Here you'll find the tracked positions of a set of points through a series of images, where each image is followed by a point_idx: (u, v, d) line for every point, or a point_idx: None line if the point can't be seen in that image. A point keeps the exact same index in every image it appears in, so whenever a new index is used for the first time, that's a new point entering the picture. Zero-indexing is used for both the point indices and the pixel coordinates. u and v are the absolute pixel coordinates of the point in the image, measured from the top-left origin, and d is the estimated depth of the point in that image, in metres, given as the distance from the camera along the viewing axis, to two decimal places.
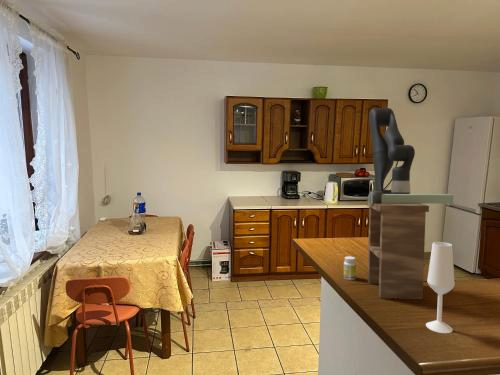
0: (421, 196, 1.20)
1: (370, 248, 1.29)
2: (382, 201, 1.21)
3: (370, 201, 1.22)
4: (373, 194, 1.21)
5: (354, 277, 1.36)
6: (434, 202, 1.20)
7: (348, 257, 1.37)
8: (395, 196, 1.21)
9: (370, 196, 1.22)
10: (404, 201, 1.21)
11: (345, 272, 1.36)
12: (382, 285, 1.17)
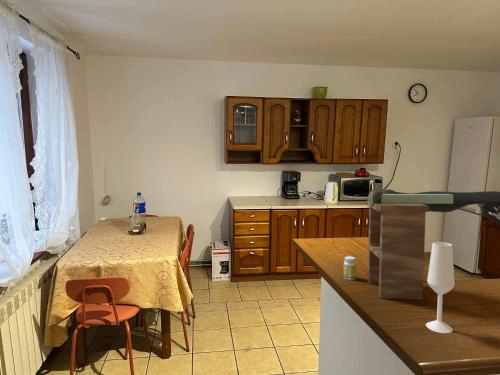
0: (421, 196, 1.20)
1: (370, 248, 1.29)
2: (382, 201, 1.21)
3: (370, 201, 1.22)
4: (373, 194, 1.21)
5: (354, 277, 1.36)
6: (434, 202, 1.20)
7: (348, 257, 1.37)
8: (395, 196, 1.21)
9: (370, 196, 1.22)
10: (404, 201, 1.21)
11: (345, 272, 1.36)
12: (382, 285, 1.17)
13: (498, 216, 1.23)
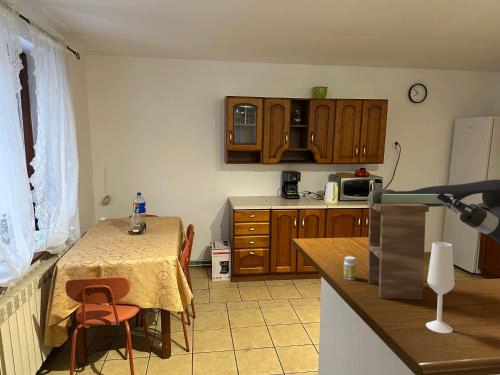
0: (421, 196, 1.20)
1: (370, 248, 1.29)
2: (382, 201, 1.21)
3: (370, 201, 1.22)
4: (373, 194, 1.21)
5: (354, 277, 1.36)
6: (434, 202, 1.20)
7: (348, 257, 1.37)
8: (395, 196, 1.21)
9: (370, 196, 1.22)
10: (404, 201, 1.21)
11: (345, 272, 1.36)
12: (382, 285, 1.17)
13: (448, 206, 1.23)
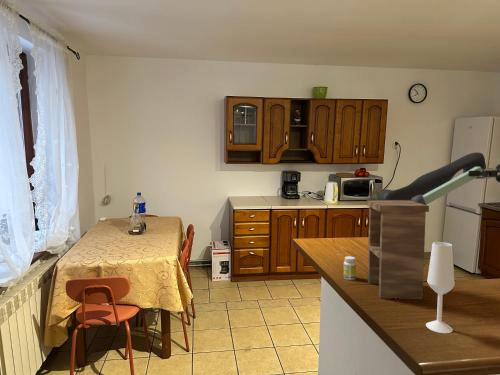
0: (455, 181, 1.33)
1: (370, 248, 1.29)
2: (426, 202, 1.35)
3: None
4: (416, 201, 1.35)
5: (354, 277, 1.36)
6: (468, 180, 1.33)
7: (348, 257, 1.37)
8: (434, 193, 1.34)
9: None
10: (444, 193, 1.34)
11: (345, 272, 1.36)
12: (382, 285, 1.17)
13: None
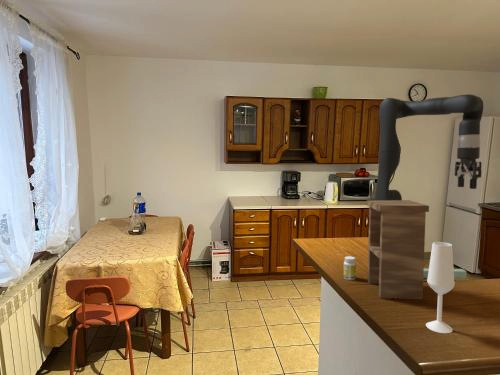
0: None
1: (370, 248, 1.29)
2: None
3: None
4: None
5: (354, 277, 1.36)
6: None
7: (348, 257, 1.37)
8: None
9: None
10: (423, 276, 1.37)
11: (345, 272, 1.36)
12: (382, 285, 1.17)
13: (466, 172, 1.38)
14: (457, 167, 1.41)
